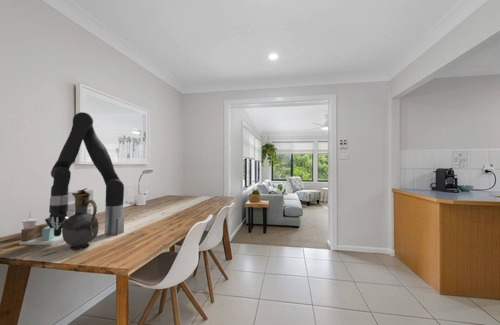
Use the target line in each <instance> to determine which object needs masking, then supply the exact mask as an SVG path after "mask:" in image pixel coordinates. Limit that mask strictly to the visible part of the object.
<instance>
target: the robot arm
mask: <svg viewBox="0 0 500 325" xmlns="http://www.w3.org/2000/svg"><path fill="white" fill-rule="evenodd" d="M93 124H94V119H93V117H92V116H91V115H90V114H89V113H87V112H83V111H82V112H78V113H76V114H75V115H74V116H73V117H72V126H71V130H70V133H69V134H68V137H67V140H66V141H65V143H64V144H63V146H62V149H61V151H60V153H59V155H58V159H57V160H56V162H55V164H54V165H53V167H52V169H51V171H50V176H51V178H53V180H52V181H53V182H52V186H51V188H50V198H49V206H48V207H49V210H48V211H49V217H48V218H45V219H44V221H45V223H47V224H48V226H49V227H50V228H53V229H54V236H56V237H58V236H60V235H61V230H62V227H63V223H64V221H65V220H66V219H67V218H68V217H67V211H68V192H69V184H70V181H71V174H72V173H71V170H70V168H71V166H72V165H73V164H74V163H75V161H76V159H77V156H78V155H79V151H80V149H81V145H82V143H84V146H85V148H86V152H87V153H88V156H89V158H90V159H91V162H92V163H93V166H94V167H95V168H96V169H97V170H98V172H99V173H100V176H102V179H103V182H104V183H105V205H104V206H105V210H104V212H105V213H104V235H105V236H117V235H120V234H122V233H124V232H125V216H124V215H123V214H124V199H125V198H124V197H125V195H124V194H125V187H124V186H125V185H124V183H123V181H122V180H121V178H120V177H119V176H118V174H117V172H116V169H115V168H114V165H113V161H112V158H111V156H110V154H109V152H108V149H107V148H106V146H105V145H104V143H103V142H102V141H101V140H100V138H99V137H98V136H97V134H96V131H95V127H94V125H93ZM52 225H53V226H52ZM59 226H60V227H59Z"/></svg>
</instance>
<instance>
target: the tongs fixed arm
mask: <svg viewBox="0 0 500 325" xmlns="http://www.w3.org/2000/svg"><path fill="white" fill-rule="evenodd" d="M46 227H48V224H47V223H46V222H45V223H41V224H38V225H37V224H36V226H33V227H29V228H26V229H24V228H23V229H21V234H20V238H21V239H20V242H21V241H29V240H32V239H35V238H38V237H41V236H42V229H44V228H46Z"/></svg>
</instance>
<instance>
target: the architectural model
mask: <svg viewBox="0 0 500 325" xmlns="http://www.w3.org/2000/svg"><path fill="white" fill-rule="evenodd" d="M85 191H86V192H88V193H89V194H91V195H90V196H89V200H93V201H94V189H89V190H88V189H86V190H85ZM78 192H79V191H78V190H75V191H68V211H67V217H68V218H69V217H70V216H73V215H75V197H74V196H73V195H72V193H78ZM92 209H93V205H92V204H91V203H89V205H88V210H87V213H88V214H92Z"/></svg>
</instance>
